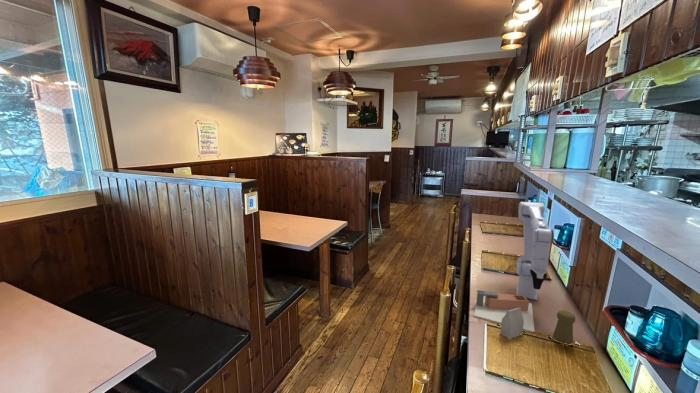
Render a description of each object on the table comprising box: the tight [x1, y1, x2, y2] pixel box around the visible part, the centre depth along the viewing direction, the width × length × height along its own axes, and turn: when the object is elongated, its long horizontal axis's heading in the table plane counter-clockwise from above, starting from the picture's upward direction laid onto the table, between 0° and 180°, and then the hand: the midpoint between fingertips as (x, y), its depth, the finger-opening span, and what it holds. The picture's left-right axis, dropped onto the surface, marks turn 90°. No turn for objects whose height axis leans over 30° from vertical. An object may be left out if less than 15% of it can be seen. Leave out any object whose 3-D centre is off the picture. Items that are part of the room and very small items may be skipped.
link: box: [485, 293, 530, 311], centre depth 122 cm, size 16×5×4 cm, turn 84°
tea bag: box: [500, 307, 524, 340], centre depth 104 cm, size 4×7×10 cm, turn 113°
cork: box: [552, 310, 576, 344], centre depth 101 cm, size 6×6×11 cm
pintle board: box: [473, 289, 535, 333], centre depth 120 cm, size 22×21×6 cm
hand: (536, 288), depth 118 cm, fingers closed
